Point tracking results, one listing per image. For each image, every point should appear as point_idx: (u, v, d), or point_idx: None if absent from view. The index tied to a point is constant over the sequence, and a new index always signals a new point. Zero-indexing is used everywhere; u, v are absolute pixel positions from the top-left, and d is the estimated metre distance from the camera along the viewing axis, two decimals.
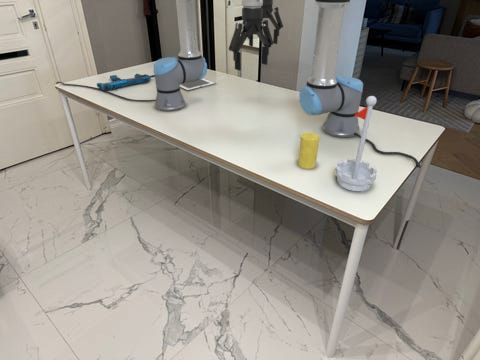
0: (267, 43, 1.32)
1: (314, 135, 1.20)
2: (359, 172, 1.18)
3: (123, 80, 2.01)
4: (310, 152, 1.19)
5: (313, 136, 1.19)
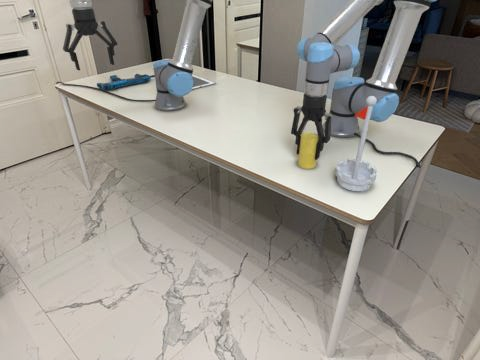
0: (109, 43, 1.35)
1: (314, 135, 1.20)
2: (359, 172, 1.18)
3: (123, 80, 2.01)
4: (310, 152, 1.19)
5: (313, 136, 1.19)
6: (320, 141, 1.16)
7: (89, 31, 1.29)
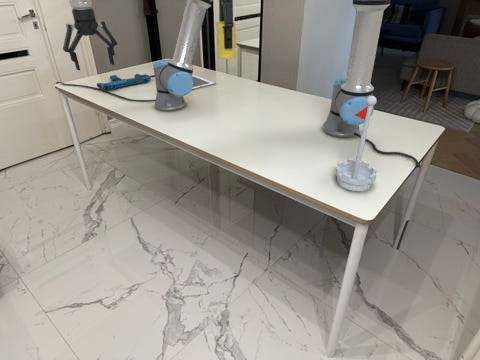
0: (109, 43, 1.35)
1: None
2: (359, 172, 1.18)
3: (123, 80, 2.01)
4: (219, 39, 1.17)
5: None
6: None
7: (89, 31, 1.29)
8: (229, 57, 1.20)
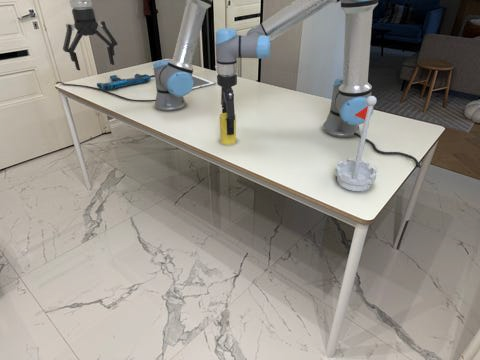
0: (109, 43, 1.35)
1: None
2: (359, 172, 1.18)
3: (123, 80, 2.01)
4: (222, 129, 1.36)
5: None
6: (227, 117, 1.29)
7: (89, 31, 1.29)
8: (230, 143, 1.39)
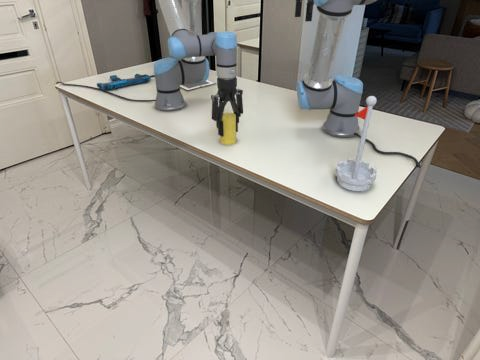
0: (237, 112, 1.36)
1: (232, 116, 1.35)
2: (359, 172, 1.18)
3: (123, 80, 2.01)
4: None
5: (229, 116, 1.35)
6: None
7: (229, 97, 1.31)
8: (230, 143, 1.39)
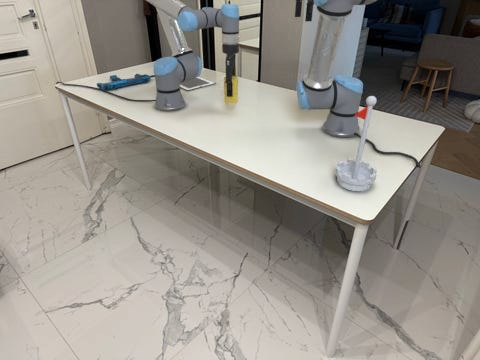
0: (234, 74, 1.62)
1: (234, 77, 1.60)
2: (359, 172, 1.18)
3: (123, 80, 2.01)
4: None
5: (233, 77, 1.59)
6: None
7: None
8: (237, 101, 1.64)
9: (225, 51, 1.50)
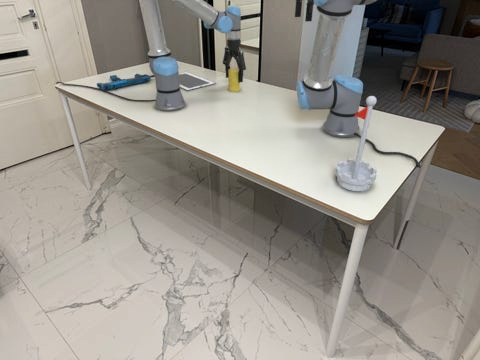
0: None
1: (235, 68, 1.92)
2: (359, 172, 1.18)
3: (123, 80, 2.01)
4: None
5: (235, 69, 1.92)
6: None
7: None
8: None
9: (235, 45, 1.80)
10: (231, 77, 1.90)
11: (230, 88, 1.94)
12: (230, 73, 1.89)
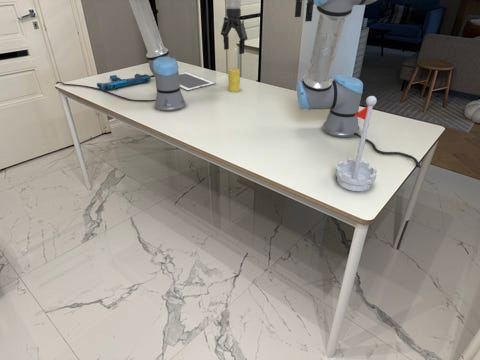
0: None
1: (235, 68, 1.92)
2: (359, 172, 1.18)
3: (123, 80, 2.01)
4: (238, 79, 1.92)
5: (235, 69, 1.92)
6: None
7: None
8: None
9: (234, 15, 1.72)
10: (231, 77, 1.90)
11: (230, 88, 1.94)
12: (230, 73, 1.89)
